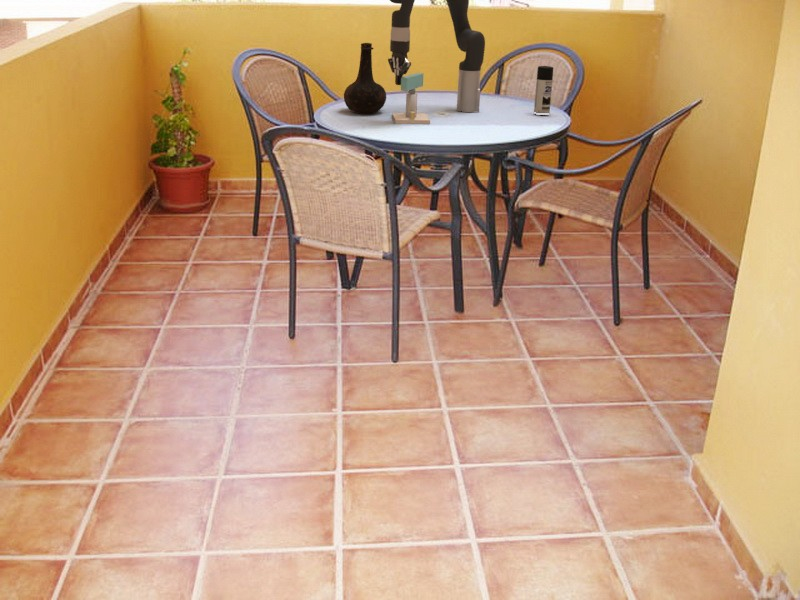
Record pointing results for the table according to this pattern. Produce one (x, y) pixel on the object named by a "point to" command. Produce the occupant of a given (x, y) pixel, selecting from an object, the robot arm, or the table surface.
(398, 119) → the post base
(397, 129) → the table surface
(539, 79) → the spray can
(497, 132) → the table surface
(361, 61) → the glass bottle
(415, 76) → the pale green block
